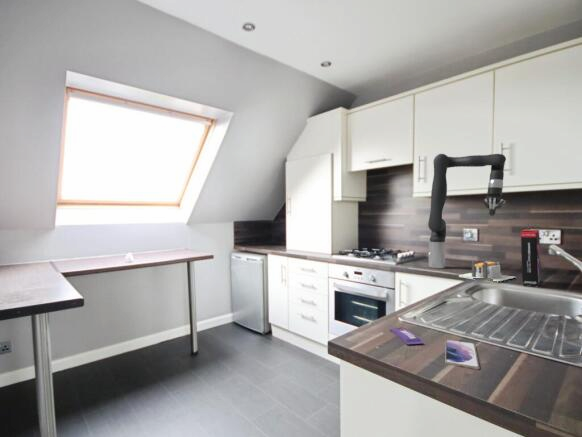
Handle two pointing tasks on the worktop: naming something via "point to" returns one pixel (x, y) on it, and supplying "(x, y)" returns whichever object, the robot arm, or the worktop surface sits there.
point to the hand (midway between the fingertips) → (492, 215)
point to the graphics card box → (530, 257)
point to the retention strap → (487, 264)
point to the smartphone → (461, 354)
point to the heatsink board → (486, 272)
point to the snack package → (406, 336)
